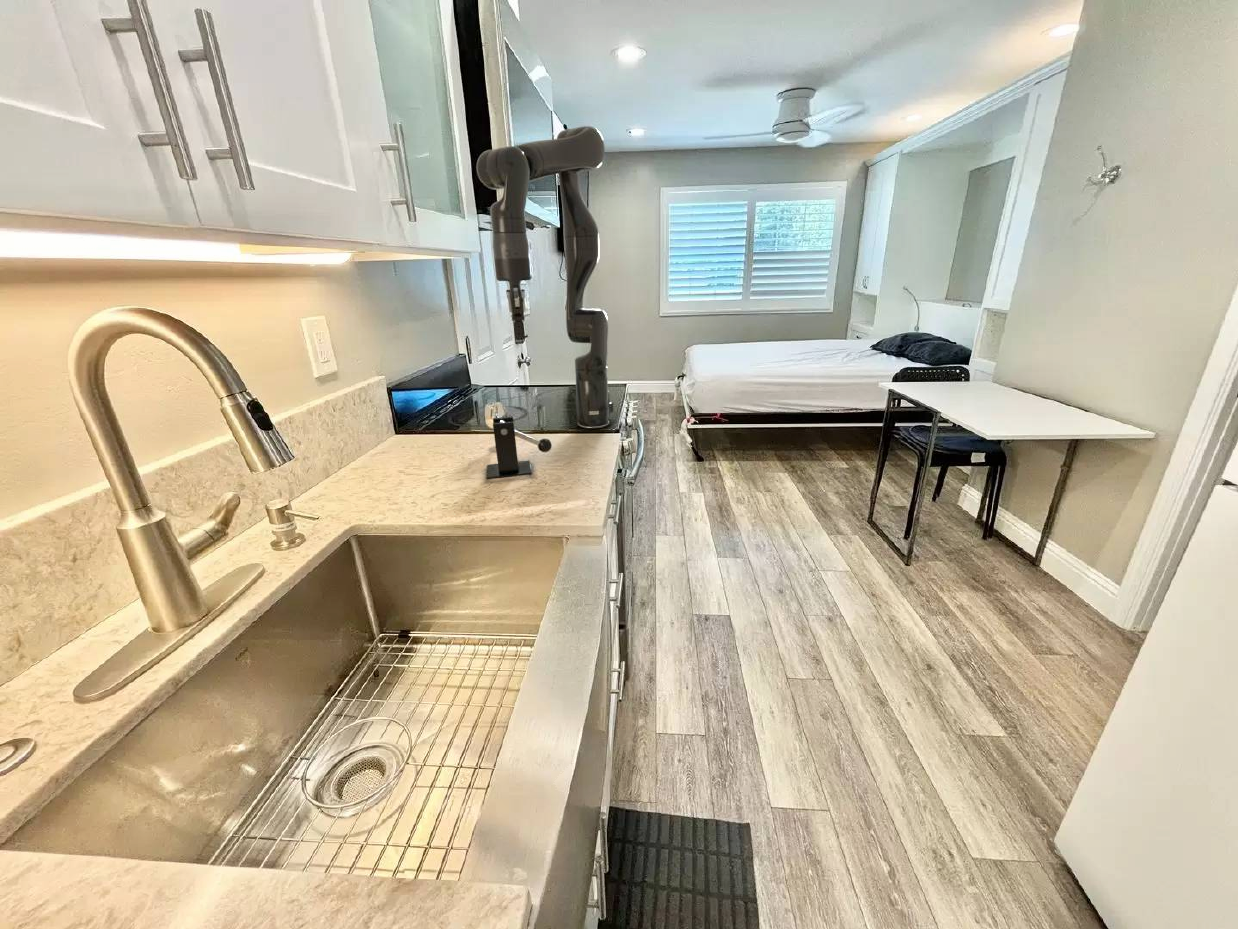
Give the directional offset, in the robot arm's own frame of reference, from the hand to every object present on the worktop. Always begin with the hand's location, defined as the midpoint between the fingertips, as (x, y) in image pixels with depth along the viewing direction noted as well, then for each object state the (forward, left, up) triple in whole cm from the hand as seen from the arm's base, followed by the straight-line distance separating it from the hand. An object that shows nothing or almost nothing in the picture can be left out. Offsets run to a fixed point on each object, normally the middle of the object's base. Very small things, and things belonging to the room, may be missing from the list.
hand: (520, 339), depth 111 cm
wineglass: (-1, -12, -29) cm, 32 cm away
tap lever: (+7, +5, -22) cm, 24 cm away
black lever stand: (+10, +2, -29) cm, 31 cm away
